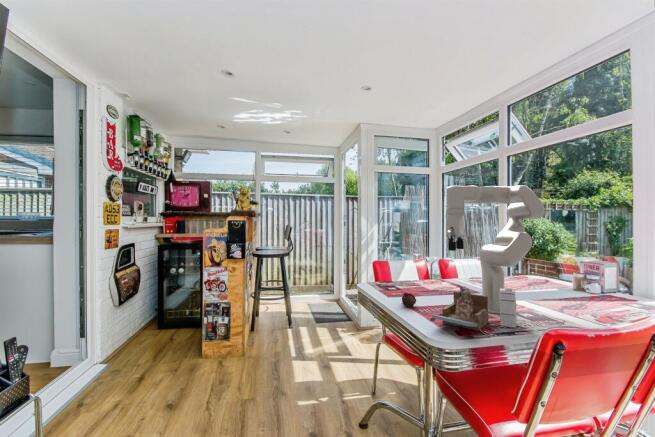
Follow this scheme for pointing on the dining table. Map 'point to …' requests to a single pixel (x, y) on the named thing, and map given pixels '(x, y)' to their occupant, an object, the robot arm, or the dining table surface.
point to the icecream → (408, 299)
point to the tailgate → (454, 321)
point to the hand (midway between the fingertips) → (456, 249)
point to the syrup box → (507, 307)
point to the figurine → (464, 304)
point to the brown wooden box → (478, 305)
